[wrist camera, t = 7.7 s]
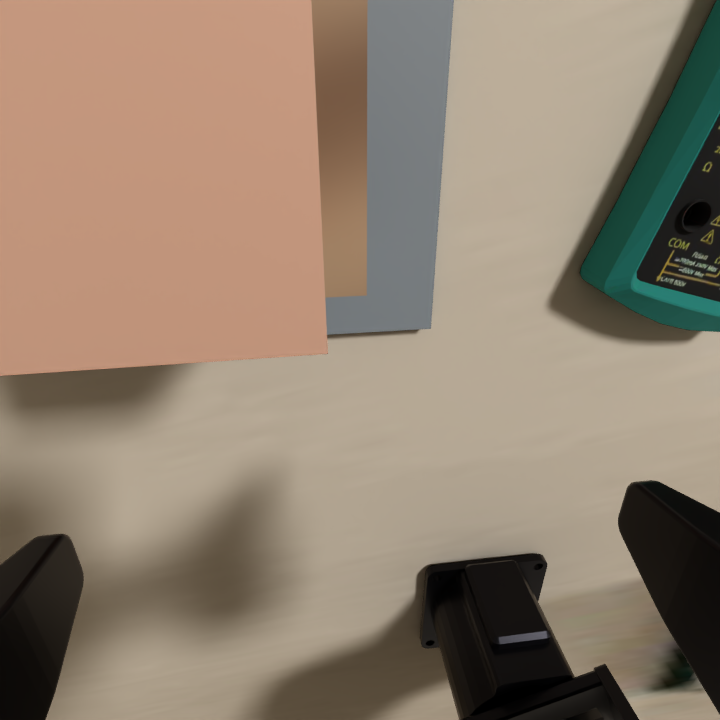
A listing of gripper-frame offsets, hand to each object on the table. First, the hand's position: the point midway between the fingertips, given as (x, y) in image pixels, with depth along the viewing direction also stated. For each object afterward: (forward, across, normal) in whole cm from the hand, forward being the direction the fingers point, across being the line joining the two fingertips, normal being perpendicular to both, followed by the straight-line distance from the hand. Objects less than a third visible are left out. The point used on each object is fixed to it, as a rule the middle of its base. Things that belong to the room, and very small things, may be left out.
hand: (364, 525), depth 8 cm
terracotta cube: (+7, +3, -5) cm, 9 cm away
